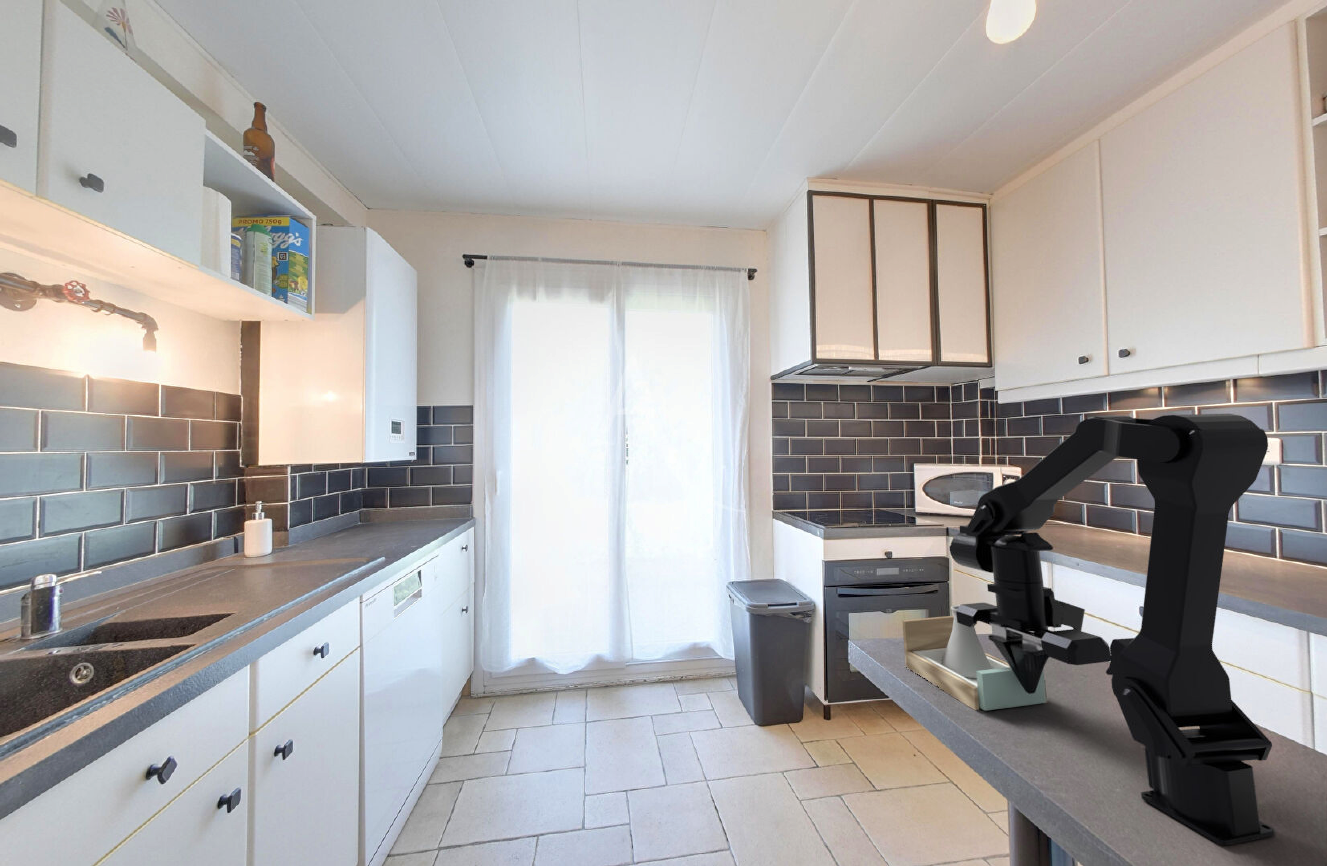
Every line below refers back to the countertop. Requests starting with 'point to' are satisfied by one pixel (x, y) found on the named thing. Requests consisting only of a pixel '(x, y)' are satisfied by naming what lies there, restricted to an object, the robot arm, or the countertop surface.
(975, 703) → the dock
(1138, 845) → the countertop surface
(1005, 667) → the tray
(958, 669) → the flask
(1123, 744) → the countertop surface
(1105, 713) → the countertop surface
